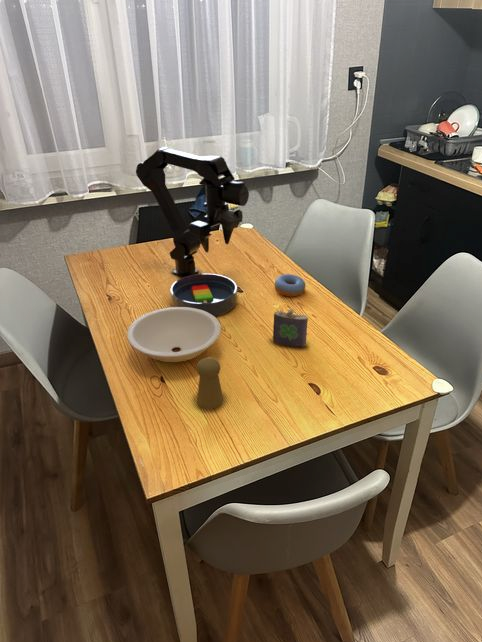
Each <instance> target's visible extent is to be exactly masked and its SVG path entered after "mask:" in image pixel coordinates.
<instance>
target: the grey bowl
mask: <svg viewBox="0 0 482 642" xmlns="http://www.w3.org/2000/svg"><path fill="white" fill-rule="evenodd" d="M221 333H222V325H221V323H220V321H219V320H218V319H217V317H216V316H215V317H214V316H213V315H211V314H210V313H208V312H205V311H203V310H199V309H195V308H189V307H173V306H171V307H164V308H159V309H155V310H152V311H150V312H147V313H144V314H143V315H140V316H138V318H136V319H135V320H134V321H132V322H131V324H130V325H129V327H128V329H127V332H126V338H127V342H128V343H129V345H130V346H131V347H132V348H133V349H134V350H136V351H137V352H139V353H142V354H144V355H146V356H147V357H149V358H151V359H153V360H156V361H160V362H163V363H164V362H165V363H180V362H185V361H189V360H191V359H194V358H196V357H198V356H199V355H201V354H203V353H204V352H205V351H206V350H208V348H210V347H211V346H212V345H214V344H215V343H216V342H217V340H218V339H219V338H220V335H221ZM176 348H177V349H180V350H179V351H173V349H176Z"/></svg>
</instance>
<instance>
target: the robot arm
mask: <svg viewBox="0 0 482 642" xmlns="http://www.w3.org/2000/svg"><path fill="white" fill-rule="evenodd" d="M168 165H171V166H174V167H178V168H182V169H187V170H189V171H193V172H195V173H196V174H197V175H198V176H200V177H201V178H202V179H201V180H200V181H199V182H198V183H199V185H201V186H205V202H203V208H206V215H204V216H203V219H204V220H205V221H201V220H196V221H193V222H190V223H189V225H187V223H186V222H185V219H184V218H183V216H182V214H181V212H180V210H179V208H178V206H177V204H176V203H175V200H174V198H173V196H172V194H171V193H170V191H169V189H168V187H167V184H166V173H165V171H164V169H166V168H167V166H168ZM135 169H136V170H135V174H136V176H137V178H138V180H139V181H140V183H141V184H142V186H144V187H145V188H147V189H148V190H149V191H151V193H152V195H153V196H154V198H155V200H156V202H157V204H158V206H159V208H160V210H161V212H162V214H163V216H164V218H165V220H166V221H167V223H168V225H169V228H170V229H171V230H172V243H173V245H174V248H172V250H171V251H170V252H169V256H170V258H171V260H174V263H175V269H174V270H172V274H175V275H177V276H180V277H181V278H183V277H186V276H189V275H194V274H198V273H199V269H196V261H195V256H194V255H196V254H197V253H198V250H199V249H200V248H201V247H202V248H203V250H204V252H205V253H209V251H210V244H209V243H210V237H212V233H211V231H212V228H214V227H217V226H219V225H221V229H222V234H223V240H224V243H225V245H229V244H230V241H231V238H232V235H233V232H234V230H235V229H237V228H238V227H239V225H240V223H242V222H243V218H244V217H243V211H242V210H241V209H237V210H233V209H229V204H230V205H235V206H240V207H244V206H246V205H247V203H248V201H249V197H250V191H249V188H248V187H247V186H246V182H245V181H236V180H235V177H234V175H233V173H232V171H231V170H230V168H229V166H228V164H227V162H226V160H225V158H224V157H222V156H221V155H204V156H201V155H196V154H193V153H189V152H185V151H180V150H176V149H172V148H170V147H168V146H165V147H161V148H158V149H157V150H156V151H155V152H154V153H153V154H152V155H150V156H149V157H148V158H146V159H145V160H144V161H142V162H140V163H138V164H137V165H136V168H135Z"/></svg>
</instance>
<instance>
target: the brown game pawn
mask: <svg viewBox="0 0 482 642" xmlns="http://www.w3.org/2000/svg"><path fill="white" fill-rule="evenodd" d="M196 372H197V374H198V375H199V377H198V389H197V397H196V398H197V399H196V401H197V405H198V406H199V407H201V408H202V409H207V410H211V409H216V408H219V407H220V406H221V405H222V404H223V403H224V396H223V395H224V394H223V391H222V385H221V380H220V376H219V374H220V372H221V363H220V362H219V361H218V360H217V359H216V358H214V357H204V358H202V359H200V360H199V361H198V362H197V365H196Z"/></svg>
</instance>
